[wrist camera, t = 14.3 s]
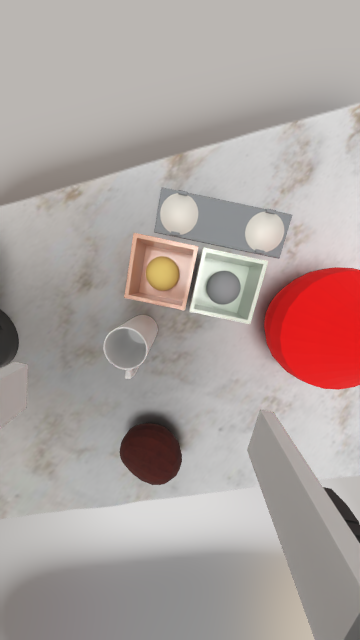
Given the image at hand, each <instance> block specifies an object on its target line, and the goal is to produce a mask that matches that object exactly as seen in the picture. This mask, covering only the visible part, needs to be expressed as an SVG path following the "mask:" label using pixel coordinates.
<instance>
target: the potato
mask: <svg viewBox="0 0 360 640" xmlns="http://www.w3.org/2000/svg"><path fill="white" fill-rule="evenodd" d="M120 457H121V460H122V462H123V463H124V464H125V466H126V467H127V468H128V469H129V471H131V472H132V473H133V474H134V475H135V476H136V477H138V478H139V479H140V480H142V481H144V482H147V483H149V484H152V485H161V484H165V483H167V482H168V481H170V480H171V479H172V478H174V477H175V476H176V475H177V473H178V471H179V469H180V465H181V462H182V454H181V450H180V446H179V443H178V441H177V439H176V438H175V437H174V435H173V434H172V432H170V431H169V430H168V429H166V428H165V427H163V426H161V425H157V424H154V423H144V424H139V425H136V426H134V427H133V428H131V429H130V430H129V431H128V432H127V434H126V435H125V437H124V438H123V440H122V442H121V447H120Z"/></svg>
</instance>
